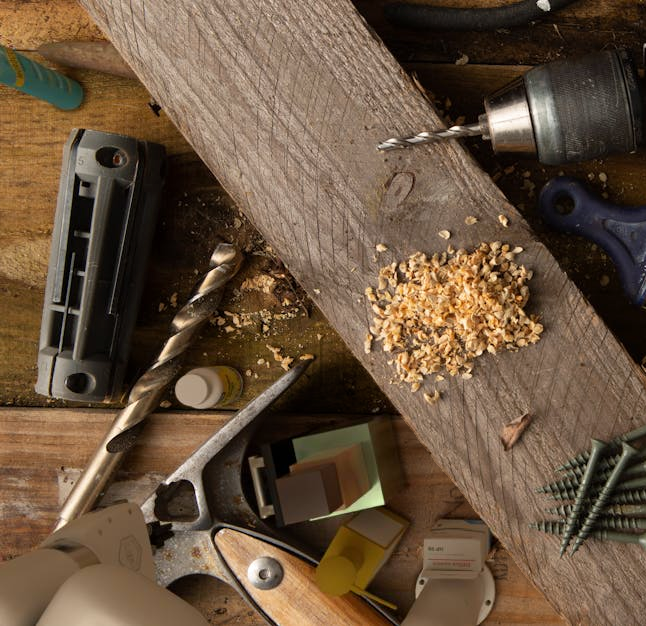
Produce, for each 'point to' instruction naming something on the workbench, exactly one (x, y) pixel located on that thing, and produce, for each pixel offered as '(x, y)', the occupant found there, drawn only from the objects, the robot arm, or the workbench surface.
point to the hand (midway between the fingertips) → (161, 531)
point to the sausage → (88, 56)
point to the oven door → (273, 474)
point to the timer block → (309, 493)
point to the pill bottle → (209, 387)
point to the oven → (375, 449)
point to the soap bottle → (360, 552)
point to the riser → (343, 470)
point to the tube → (38, 80)
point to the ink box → (456, 549)
